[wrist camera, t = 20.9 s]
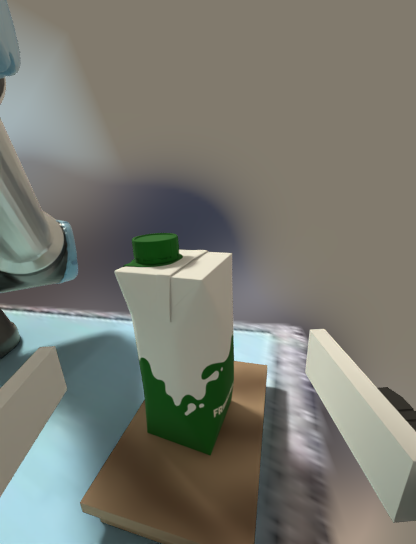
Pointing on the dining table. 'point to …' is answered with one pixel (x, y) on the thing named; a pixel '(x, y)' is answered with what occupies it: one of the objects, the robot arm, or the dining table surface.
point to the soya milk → (182, 337)
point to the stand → (187, 476)
